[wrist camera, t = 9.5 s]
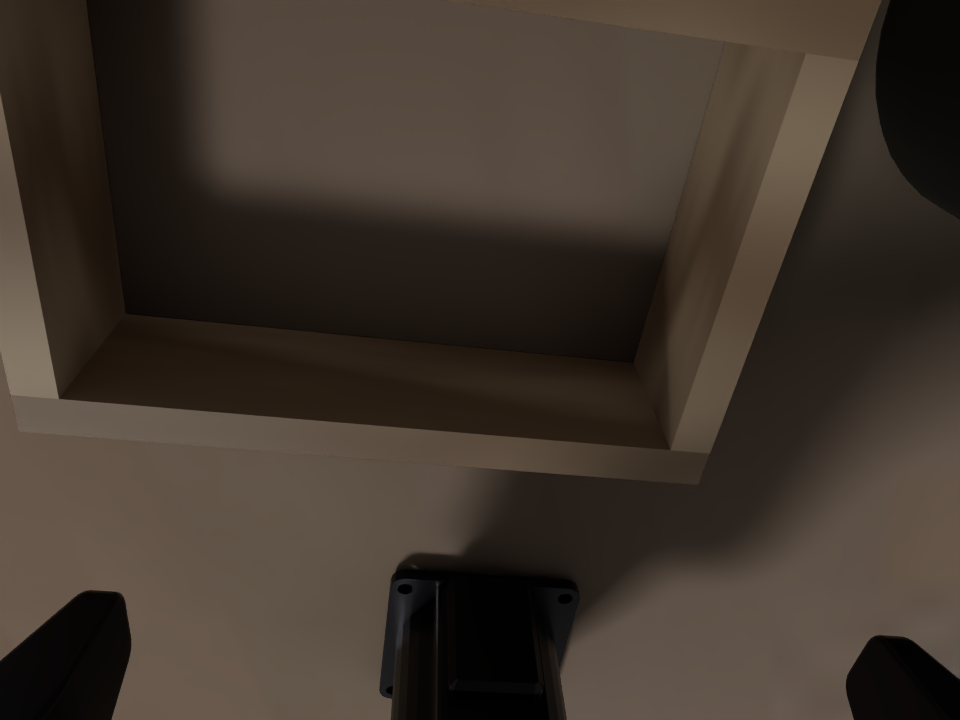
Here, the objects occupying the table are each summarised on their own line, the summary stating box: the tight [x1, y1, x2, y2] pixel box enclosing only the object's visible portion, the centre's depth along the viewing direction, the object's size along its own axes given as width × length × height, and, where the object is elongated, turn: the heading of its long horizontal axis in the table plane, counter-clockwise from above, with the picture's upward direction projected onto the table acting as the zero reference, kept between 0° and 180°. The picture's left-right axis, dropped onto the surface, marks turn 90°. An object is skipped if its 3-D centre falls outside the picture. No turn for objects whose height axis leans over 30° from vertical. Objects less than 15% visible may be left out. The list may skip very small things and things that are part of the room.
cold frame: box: [0, 0, 882, 485], centre depth 16 cm, size 11×16×4 cm
